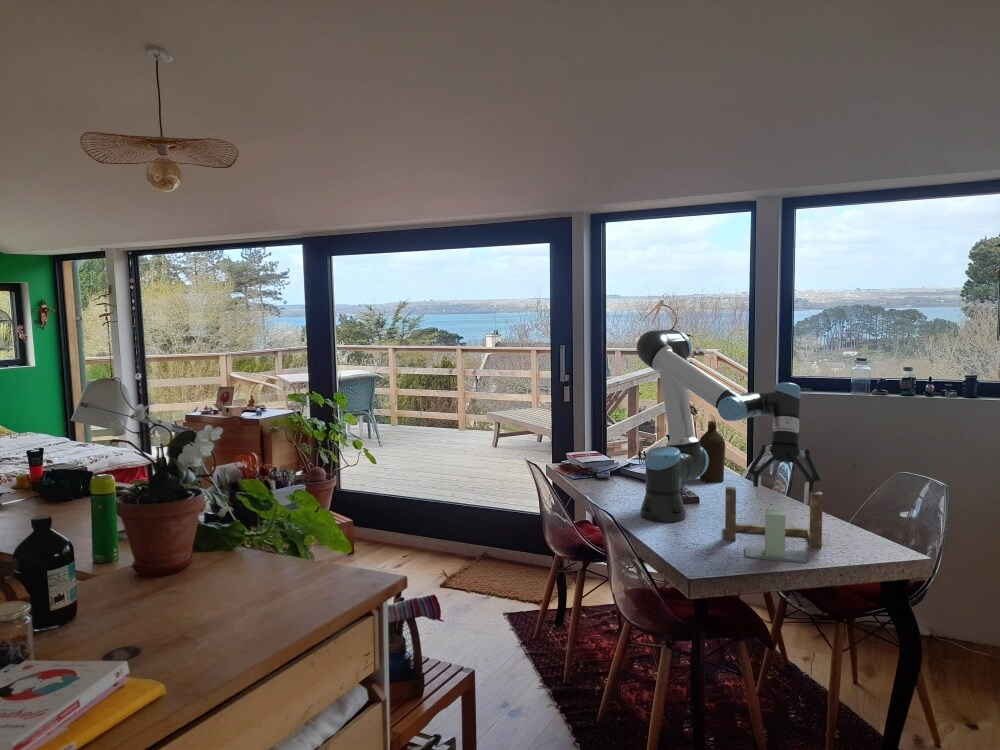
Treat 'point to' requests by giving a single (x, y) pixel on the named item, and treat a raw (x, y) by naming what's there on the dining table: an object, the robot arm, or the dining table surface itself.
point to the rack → (812, 534)
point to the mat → (789, 556)
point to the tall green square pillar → (775, 533)
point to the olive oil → (713, 454)
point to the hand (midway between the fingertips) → (781, 501)
